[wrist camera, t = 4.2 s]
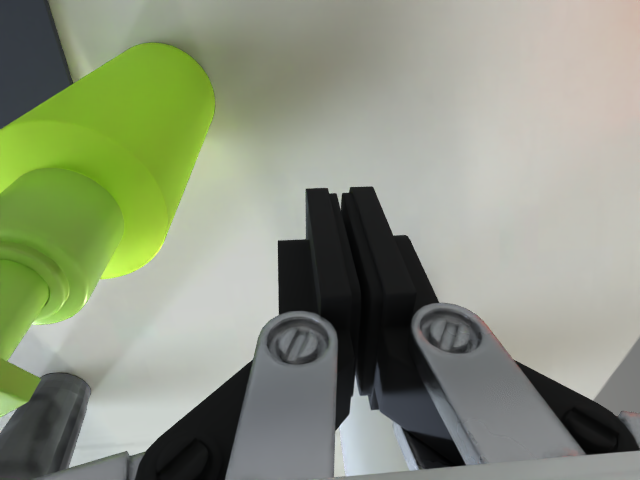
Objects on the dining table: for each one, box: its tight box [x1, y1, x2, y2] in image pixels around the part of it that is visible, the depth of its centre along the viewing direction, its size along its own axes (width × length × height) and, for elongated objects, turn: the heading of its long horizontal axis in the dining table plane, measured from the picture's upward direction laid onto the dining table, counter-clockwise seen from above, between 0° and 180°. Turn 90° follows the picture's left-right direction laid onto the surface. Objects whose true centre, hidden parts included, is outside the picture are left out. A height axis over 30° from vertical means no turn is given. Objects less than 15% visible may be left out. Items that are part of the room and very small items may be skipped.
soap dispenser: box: [0, 43, 215, 417], centre depth 16 cm, size 6×7×20 cm
